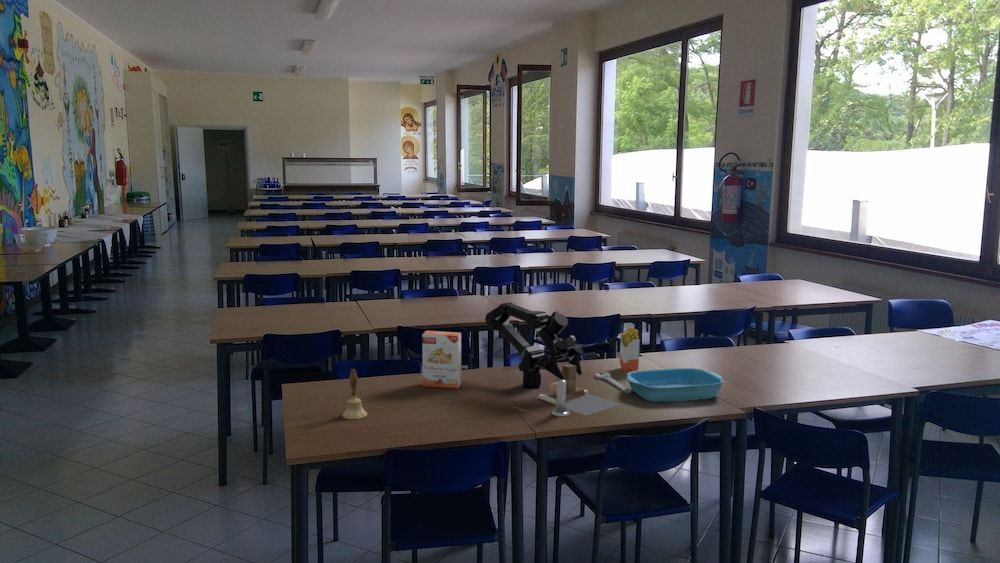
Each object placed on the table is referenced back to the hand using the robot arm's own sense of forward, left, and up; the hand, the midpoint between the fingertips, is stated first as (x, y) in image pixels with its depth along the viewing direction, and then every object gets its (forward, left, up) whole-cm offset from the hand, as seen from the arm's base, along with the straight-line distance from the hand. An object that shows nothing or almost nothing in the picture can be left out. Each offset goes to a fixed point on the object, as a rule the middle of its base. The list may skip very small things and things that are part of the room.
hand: (572, 377), depth 261 cm
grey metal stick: (-4, -16, -9) cm, 18 cm away
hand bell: (-73, -24, -9) cm, 77 cm away
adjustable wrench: (+16, +21, -9) cm, 28 cm away
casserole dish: (+38, +11, -9) cm, 41 cm away
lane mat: (+2, -2, -8) cm, 9 cm away
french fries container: (+24, +39, -9) cm, 47 cm away
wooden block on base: (-1, +1, -8) cm, 8 cm away
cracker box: (-49, +11, -9) cm, 51 cm away
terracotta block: (-4, +4, -8) cm, 10 cm away
